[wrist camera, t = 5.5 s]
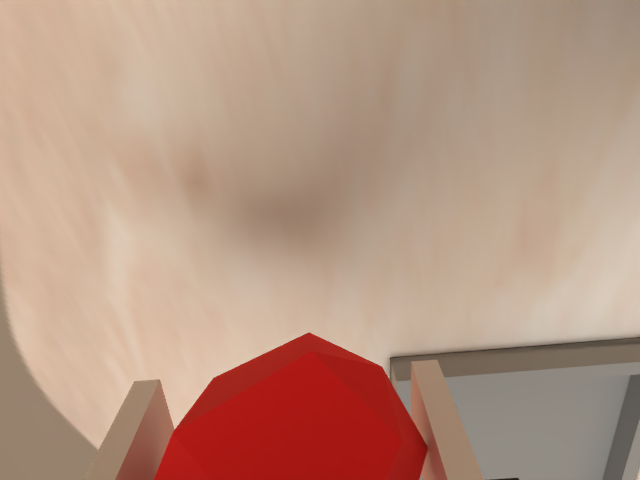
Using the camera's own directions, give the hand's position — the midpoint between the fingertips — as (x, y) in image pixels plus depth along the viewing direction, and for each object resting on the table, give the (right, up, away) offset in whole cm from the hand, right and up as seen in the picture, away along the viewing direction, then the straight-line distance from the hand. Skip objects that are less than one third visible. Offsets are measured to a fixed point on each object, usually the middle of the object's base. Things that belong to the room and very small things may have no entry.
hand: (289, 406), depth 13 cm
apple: (0, 0, 0) cm, 1 cm away
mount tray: (+15, -10, +19) cm, 26 cm away
